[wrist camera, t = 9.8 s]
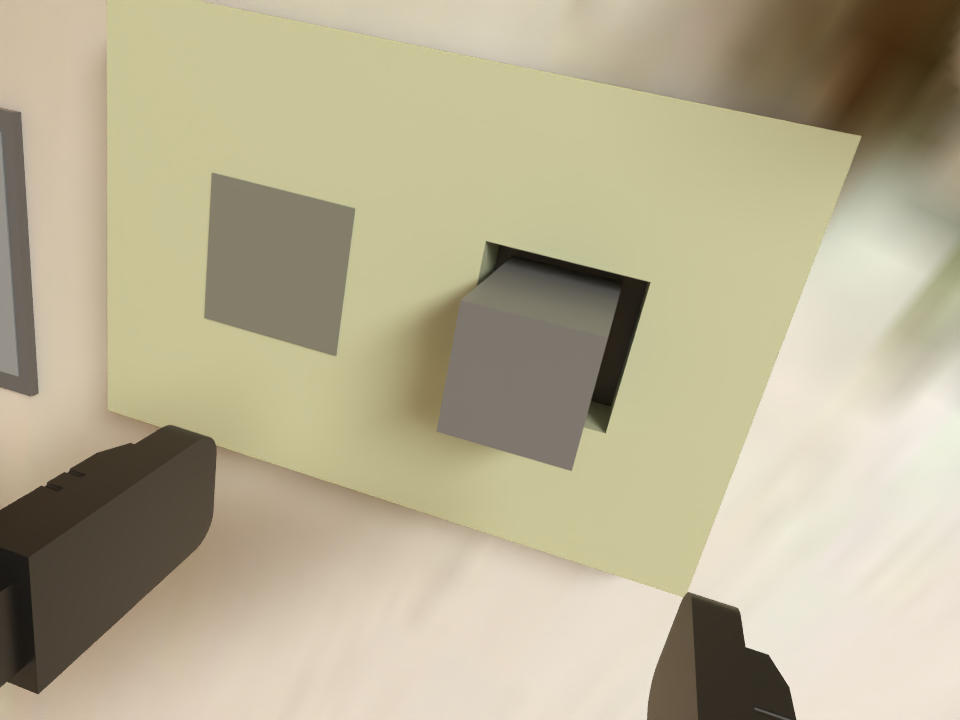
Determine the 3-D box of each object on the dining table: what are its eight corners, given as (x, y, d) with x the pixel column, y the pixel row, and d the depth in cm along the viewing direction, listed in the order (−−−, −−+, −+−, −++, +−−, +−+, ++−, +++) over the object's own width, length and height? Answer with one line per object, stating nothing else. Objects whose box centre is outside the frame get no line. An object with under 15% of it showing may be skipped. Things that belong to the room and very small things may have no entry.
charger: (513, 255, 25) (460, 300, 18) (623, 281, 24) (608, 338, 18) (492, 358, 26) (435, 433, 20) (594, 386, 25) (571, 473, 19)
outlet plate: (167, -2, 25) (104, -19, 23) (836, 135, 21) (862, 136, 19) (156, 385, 31) (106, 410, 28) (682, 550, 27) (684, 598, 24)
